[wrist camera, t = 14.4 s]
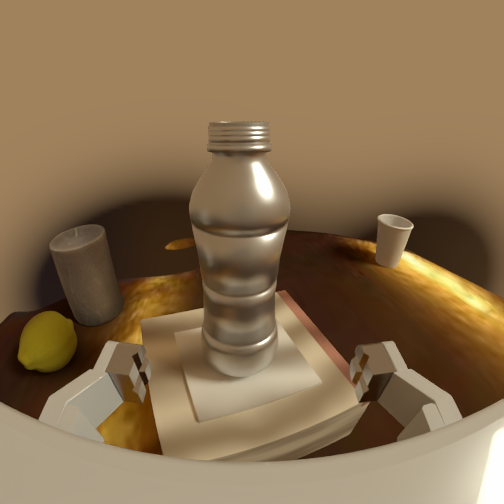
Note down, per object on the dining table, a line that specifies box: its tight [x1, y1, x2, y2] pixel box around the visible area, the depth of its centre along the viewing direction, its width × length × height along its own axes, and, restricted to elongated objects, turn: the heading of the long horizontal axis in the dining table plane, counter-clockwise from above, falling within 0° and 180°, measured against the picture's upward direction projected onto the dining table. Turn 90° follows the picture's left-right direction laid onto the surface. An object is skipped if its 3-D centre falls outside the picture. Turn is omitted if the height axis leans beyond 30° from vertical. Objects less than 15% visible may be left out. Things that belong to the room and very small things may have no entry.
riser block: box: [140, 290, 371, 462], centre depth 27 cm, size 18×18×8 cm
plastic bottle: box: [189, 122, 291, 377], centre depth 20 cm, size 6×7×20 cm
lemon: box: [18, 311, 77, 373], centre depth 29 cm, size 11×8×8 cm
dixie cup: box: [375, 214, 413, 268], centre depth 57 cm, size 8×8×10 cm
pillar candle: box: [50, 225, 123, 326], centre depth 39 cm, size 10×10×15 cm
